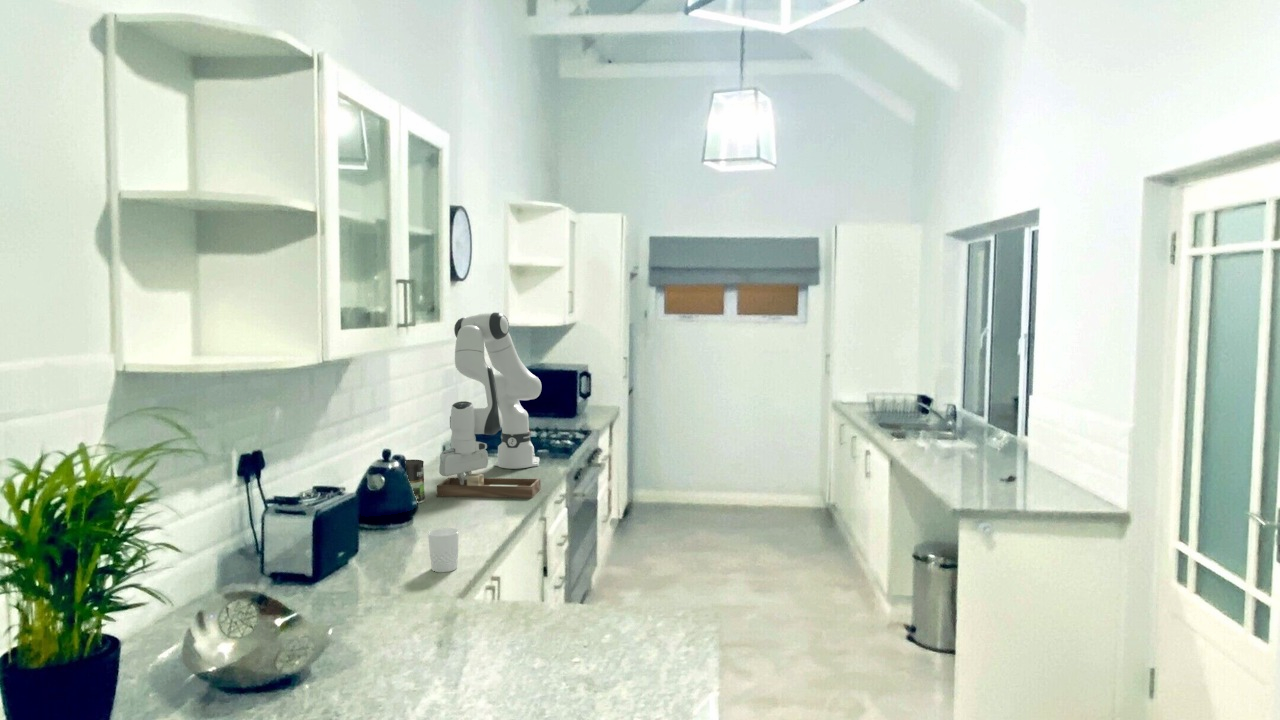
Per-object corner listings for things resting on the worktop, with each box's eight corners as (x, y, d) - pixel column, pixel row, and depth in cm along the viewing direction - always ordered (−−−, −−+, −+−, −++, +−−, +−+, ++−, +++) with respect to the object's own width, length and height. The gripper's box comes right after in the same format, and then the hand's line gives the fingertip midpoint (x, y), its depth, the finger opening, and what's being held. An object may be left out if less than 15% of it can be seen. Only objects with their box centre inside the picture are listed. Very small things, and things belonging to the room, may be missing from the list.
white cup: (449, 574, 229) (448, 537, 228) (423, 571, 232) (422, 534, 231) (465, 565, 237) (464, 529, 236) (440, 562, 239) (438, 526, 239)
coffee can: (428, 498, 314) (427, 459, 313) (420, 505, 304) (419, 464, 302) (399, 498, 314) (398, 459, 313) (390, 505, 304) (389, 465, 303)
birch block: (472, 485, 323) (472, 473, 323) (483, 486, 322) (483, 474, 322) (467, 488, 319) (466, 476, 318) (478, 489, 318) (478, 476, 317)
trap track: (448, 488, 329) (448, 477, 328) (540, 489, 325) (540, 478, 324) (436, 496, 316) (436, 485, 316) (532, 497, 312) (532, 486, 312)
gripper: (446, 452, 310) (447, 490, 311) (490, 443, 326) (491, 480, 327) (434, 450, 314) (436, 488, 315) (479, 441, 330) (480, 478, 331)
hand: (464, 484), depth 321 cm, fingers closed
